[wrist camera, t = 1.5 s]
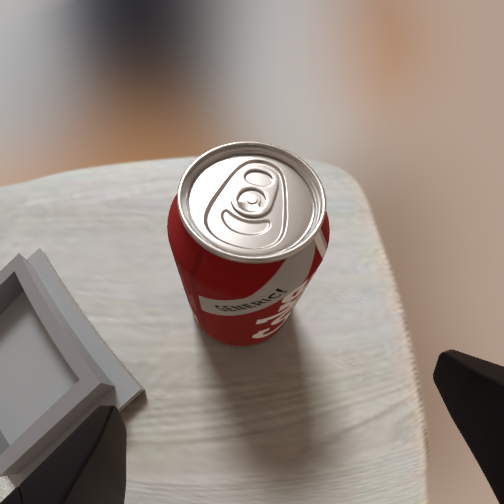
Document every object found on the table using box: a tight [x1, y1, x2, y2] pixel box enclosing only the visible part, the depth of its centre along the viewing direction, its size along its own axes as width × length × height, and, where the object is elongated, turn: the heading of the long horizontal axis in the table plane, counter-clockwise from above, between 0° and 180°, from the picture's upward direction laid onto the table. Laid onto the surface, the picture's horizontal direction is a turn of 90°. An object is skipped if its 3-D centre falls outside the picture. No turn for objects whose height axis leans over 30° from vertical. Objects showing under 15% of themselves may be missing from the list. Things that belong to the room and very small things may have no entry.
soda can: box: [167, 142, 330, 347], centre depth 17 cm, size 7×7×12 cm
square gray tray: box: [0, 248, 145, 487], centre depth 16 cm, size 14×14×4 cm
